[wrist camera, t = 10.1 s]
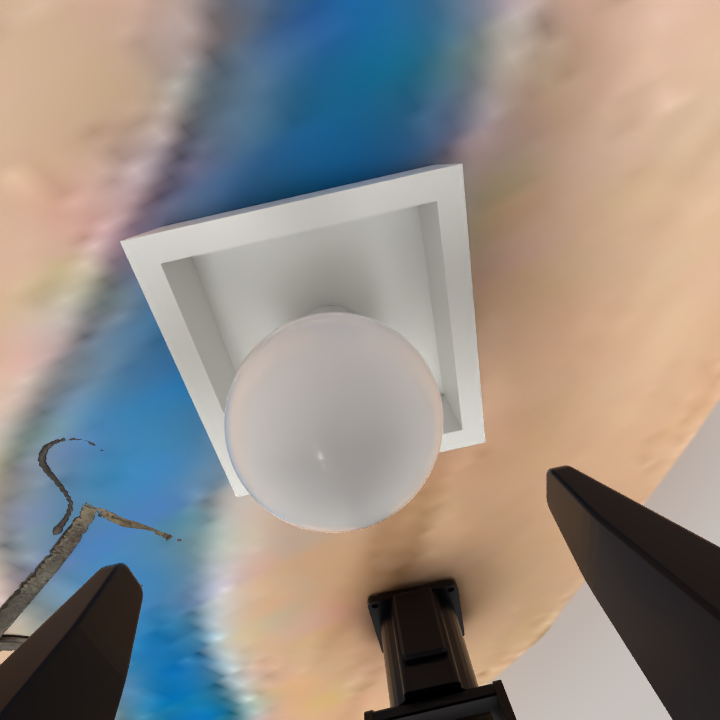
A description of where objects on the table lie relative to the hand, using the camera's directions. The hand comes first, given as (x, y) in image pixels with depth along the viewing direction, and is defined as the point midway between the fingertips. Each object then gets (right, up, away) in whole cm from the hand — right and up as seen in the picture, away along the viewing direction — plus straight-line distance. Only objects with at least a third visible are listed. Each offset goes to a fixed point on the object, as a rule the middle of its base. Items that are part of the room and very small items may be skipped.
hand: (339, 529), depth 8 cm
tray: (-1, +5, +12) cm, 13 cm away
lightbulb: (-1, +5, +11) cm, 12 cm away
